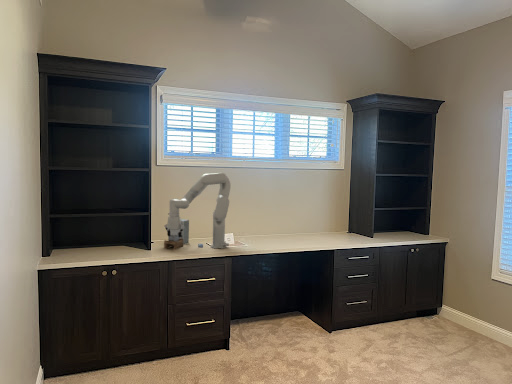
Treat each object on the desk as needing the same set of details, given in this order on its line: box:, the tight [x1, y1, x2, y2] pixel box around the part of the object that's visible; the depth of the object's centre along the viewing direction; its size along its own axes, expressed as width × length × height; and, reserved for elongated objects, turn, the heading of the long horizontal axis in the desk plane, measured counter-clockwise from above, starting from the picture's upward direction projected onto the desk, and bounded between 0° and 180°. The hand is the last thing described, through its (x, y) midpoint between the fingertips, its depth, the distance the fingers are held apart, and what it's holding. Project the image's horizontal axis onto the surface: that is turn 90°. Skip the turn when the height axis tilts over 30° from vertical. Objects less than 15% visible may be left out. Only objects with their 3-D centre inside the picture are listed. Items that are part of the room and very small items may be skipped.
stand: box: [163, 239, 184, 250], centre depth 302 cm, size 10×12×6 cm
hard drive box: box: [170, 218, 190, 246], centre depth 318 cm, size 16×8×20 cm, turn 62°
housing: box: [167, 234, 180, 242], centre depth 301 cm, size 8×6×6 cm
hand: (174, 236), depth 301 cm, fingers open, 9 cm apart
